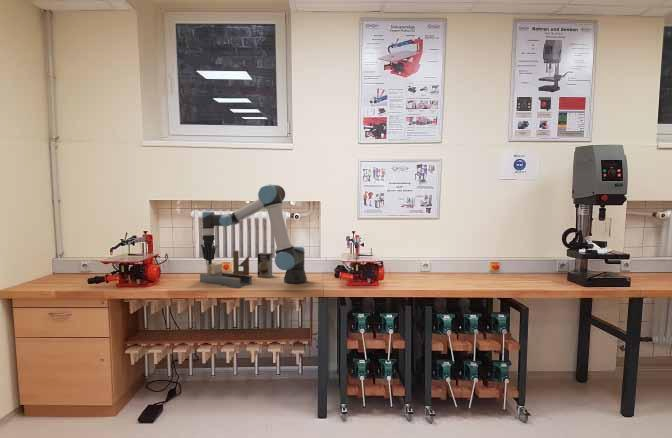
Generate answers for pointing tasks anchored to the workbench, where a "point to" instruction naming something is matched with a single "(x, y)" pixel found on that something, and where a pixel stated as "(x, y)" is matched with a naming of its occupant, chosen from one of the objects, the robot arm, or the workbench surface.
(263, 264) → the coffee box
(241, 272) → the dark angular piece
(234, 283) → the steel chute
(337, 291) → the workbench surface
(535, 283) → the workbench surface
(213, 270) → the maple block
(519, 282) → the workbench surface
